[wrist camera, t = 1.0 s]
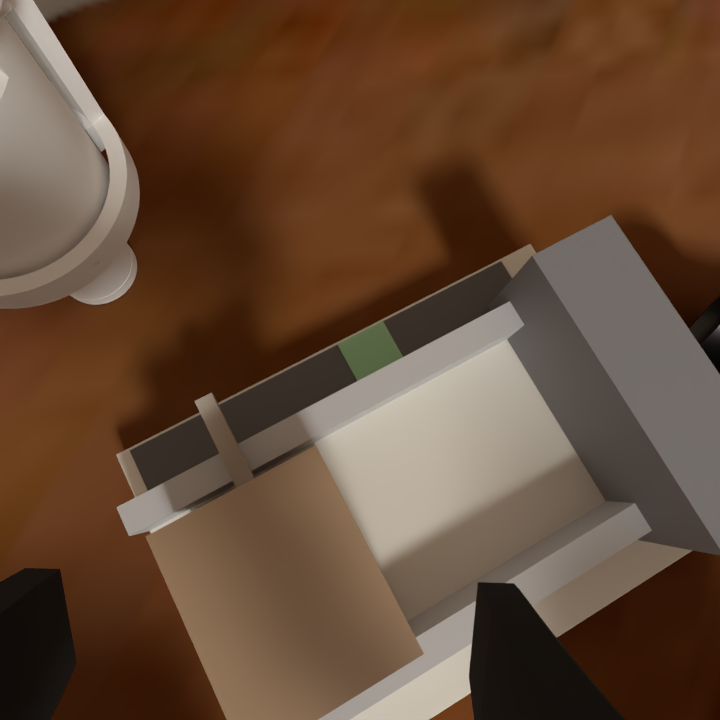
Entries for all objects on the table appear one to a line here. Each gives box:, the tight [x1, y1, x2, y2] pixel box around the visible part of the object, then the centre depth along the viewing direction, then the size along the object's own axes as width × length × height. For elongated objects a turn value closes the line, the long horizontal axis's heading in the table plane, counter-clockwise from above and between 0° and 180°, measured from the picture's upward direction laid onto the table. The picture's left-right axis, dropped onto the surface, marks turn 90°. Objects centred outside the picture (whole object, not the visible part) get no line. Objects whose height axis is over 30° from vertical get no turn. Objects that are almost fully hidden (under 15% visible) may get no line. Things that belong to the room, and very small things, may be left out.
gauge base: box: [116, 215, 720, 720], centre depth 18 cm, size 18×13×6 cm
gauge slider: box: [146, 393, 424, 720], centre depth 17 cm, size 5×9×5 cm, turn 28°
